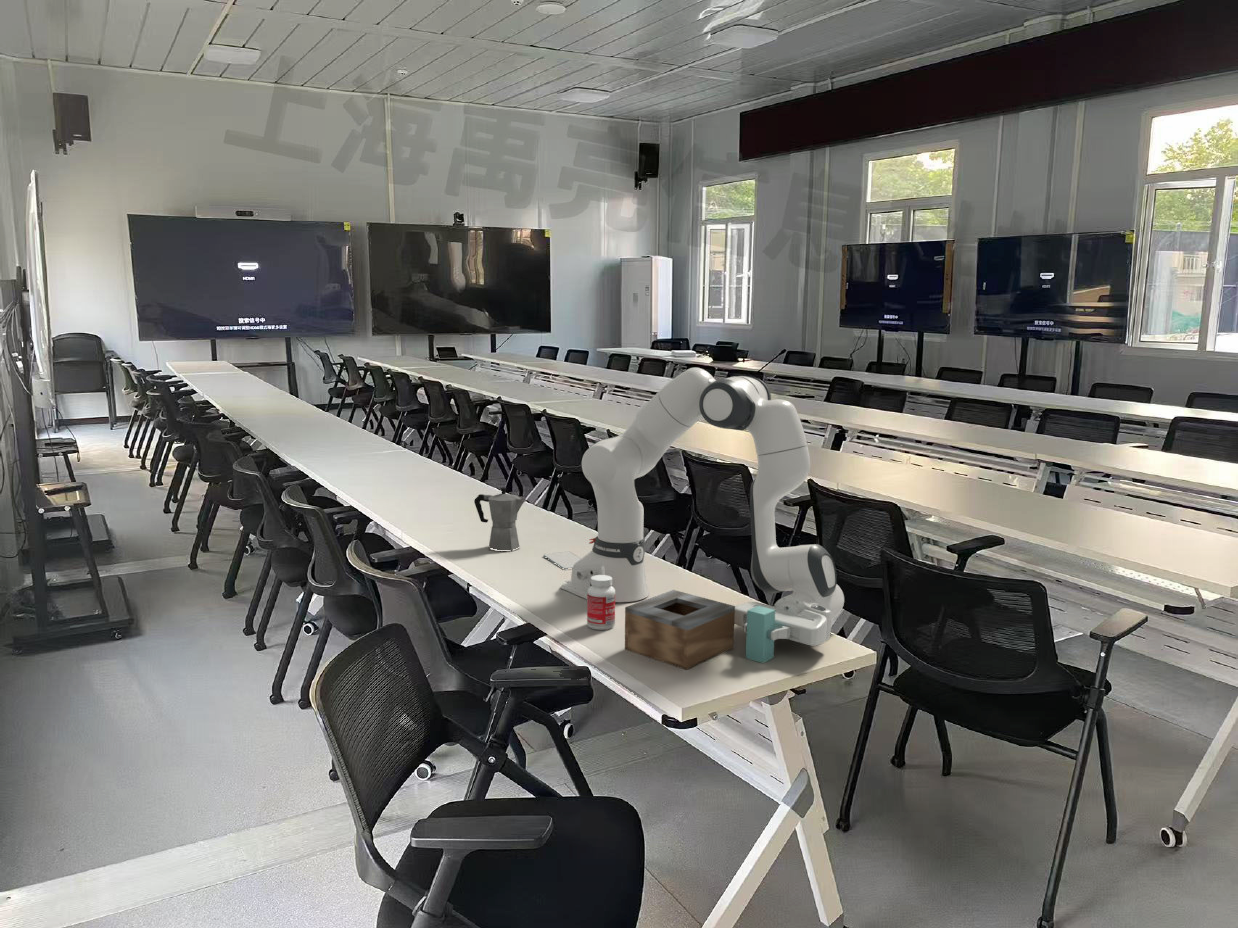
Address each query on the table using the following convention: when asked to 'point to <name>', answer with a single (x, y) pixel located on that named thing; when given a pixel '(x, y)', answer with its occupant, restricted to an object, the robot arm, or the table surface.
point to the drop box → (679, 628)
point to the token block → (759, 634)
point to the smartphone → (563, 559)
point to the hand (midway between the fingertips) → (758, 632)
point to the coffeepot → (501, 518)
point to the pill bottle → (601, 603)
